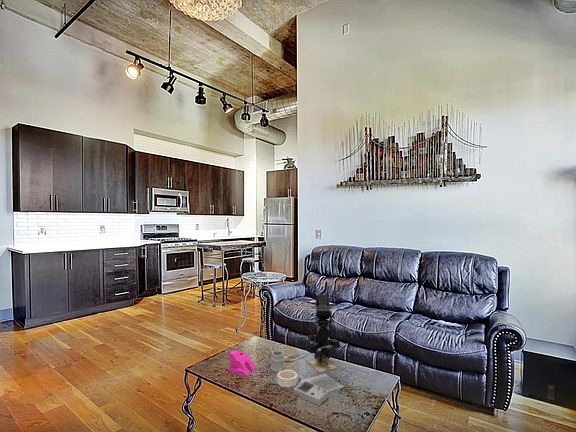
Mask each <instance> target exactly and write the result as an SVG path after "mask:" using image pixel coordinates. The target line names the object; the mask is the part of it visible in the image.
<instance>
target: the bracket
mask: <svg viewBox="0 0 576 432" xmlns="http://www.w3.org/2000/svg"><path fill="white" fill-rule="evenodd" d="M228 360H229V361H230V365H229V367H228V370H227V371H230V372H229V373H231V372H233V373H232V374H235V373H236V374H235V375H238V374H239V375H238V376H241V375H242V377H245V378H247V377H248V376H250V373H251V372H252V371H253V372H255V371H256V370H257V366H256V365H255V363H254V362H253V360H252V359H251V358H250V356H249V354H248V353H247V352H244V351H239V350H235V349H233V350H232V351H230V352H228Z"/></svg>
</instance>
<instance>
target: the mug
mask: <svg viewBox="0 0 576 432" xmlns="http://www.w3.org/2000/svg"><path fill="white" fill-rule="evenodd" d="M284 360H285V358H284V352H283V351H281V350H273V347H272V345H270V346H269V349H268V352H267V361H266V362H267V363H268V365H269V366H270V371H271V373H273V374H278V373H279V372H280V371H283V370H285V364H284Z"/></svg>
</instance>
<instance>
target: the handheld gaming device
mask: <svg viewBox="0 0 576 432" xmlns="http://www.w3.org/2000/svg"><path fill="white" fill-rule="evenodd" d="M293 394H294V396H296V397H298V398H301V399H303V400H306V401H307V402H309V403H312V404H315V405H316V406H319V407H320V406H321V405H322V404H323V403H325V401H326V400H327V399H328V397H329V392H327V391H326V390H325V389H323V388H321V387H319V386H317V385H314V384H312V383H309V382H307V381H303V382H302V381H301V382H300V383H299V384H298V385H296V386H294V388H293Z"/></svg>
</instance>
